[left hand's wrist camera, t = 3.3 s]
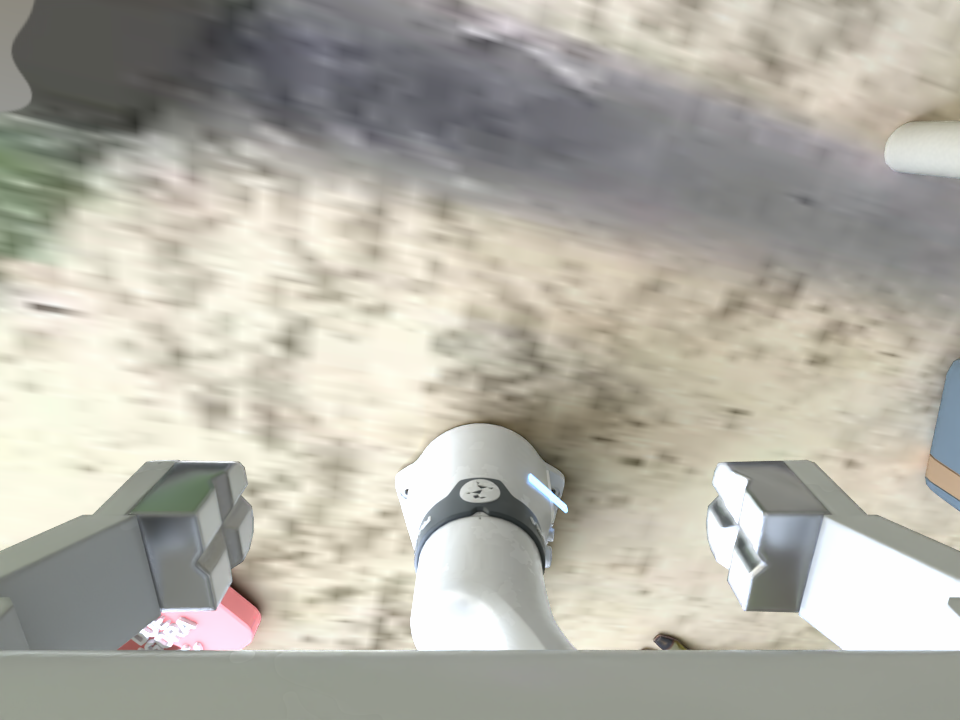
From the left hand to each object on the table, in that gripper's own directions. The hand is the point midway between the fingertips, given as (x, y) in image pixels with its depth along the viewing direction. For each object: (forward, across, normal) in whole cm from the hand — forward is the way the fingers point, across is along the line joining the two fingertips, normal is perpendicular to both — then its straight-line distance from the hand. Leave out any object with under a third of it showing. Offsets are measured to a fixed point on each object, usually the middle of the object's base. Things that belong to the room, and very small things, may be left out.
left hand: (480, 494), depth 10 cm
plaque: (+48, -36, -52) cm, 80 cm away
